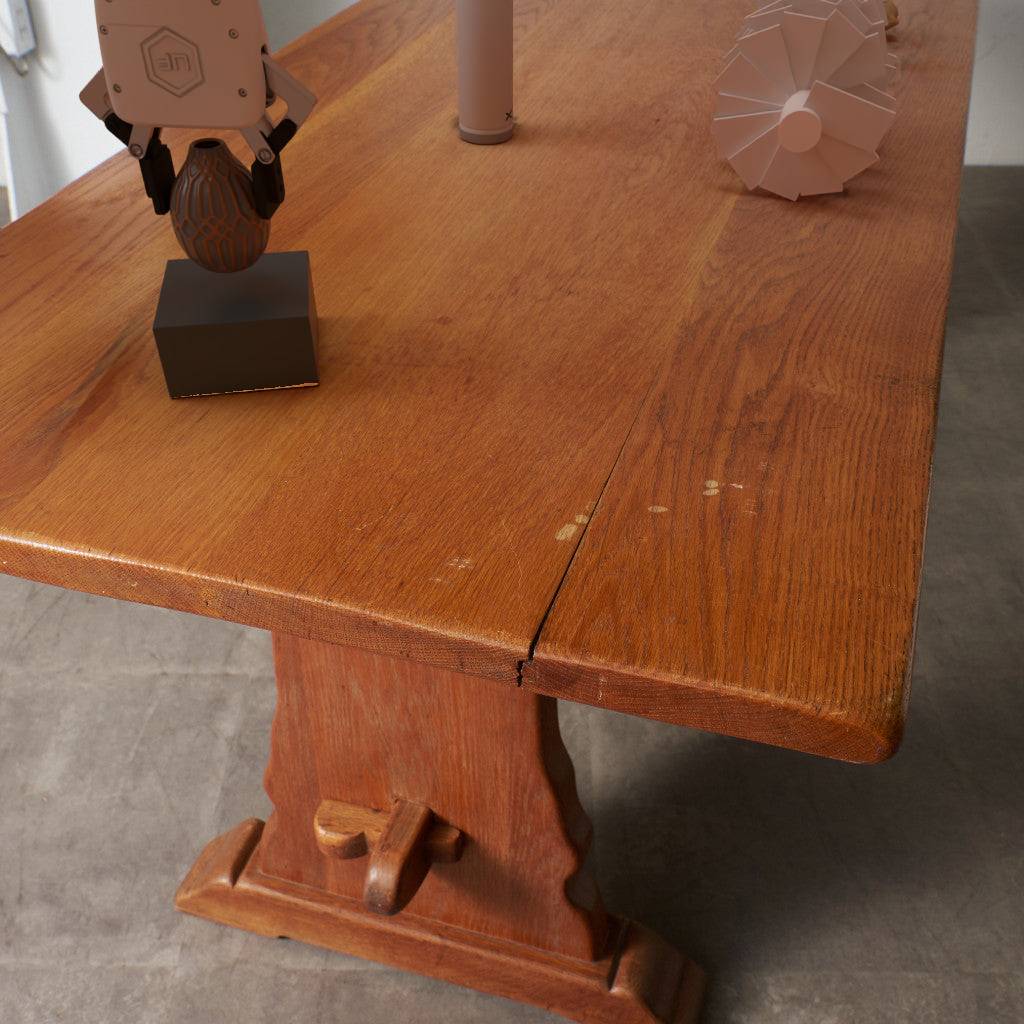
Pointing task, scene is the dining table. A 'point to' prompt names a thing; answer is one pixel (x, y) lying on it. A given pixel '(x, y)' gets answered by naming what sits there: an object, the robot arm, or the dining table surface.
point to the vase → (217, 209)
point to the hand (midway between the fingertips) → (219, 207)
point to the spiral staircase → (805, 95)
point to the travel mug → (485, 70)
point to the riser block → (237, 326)
